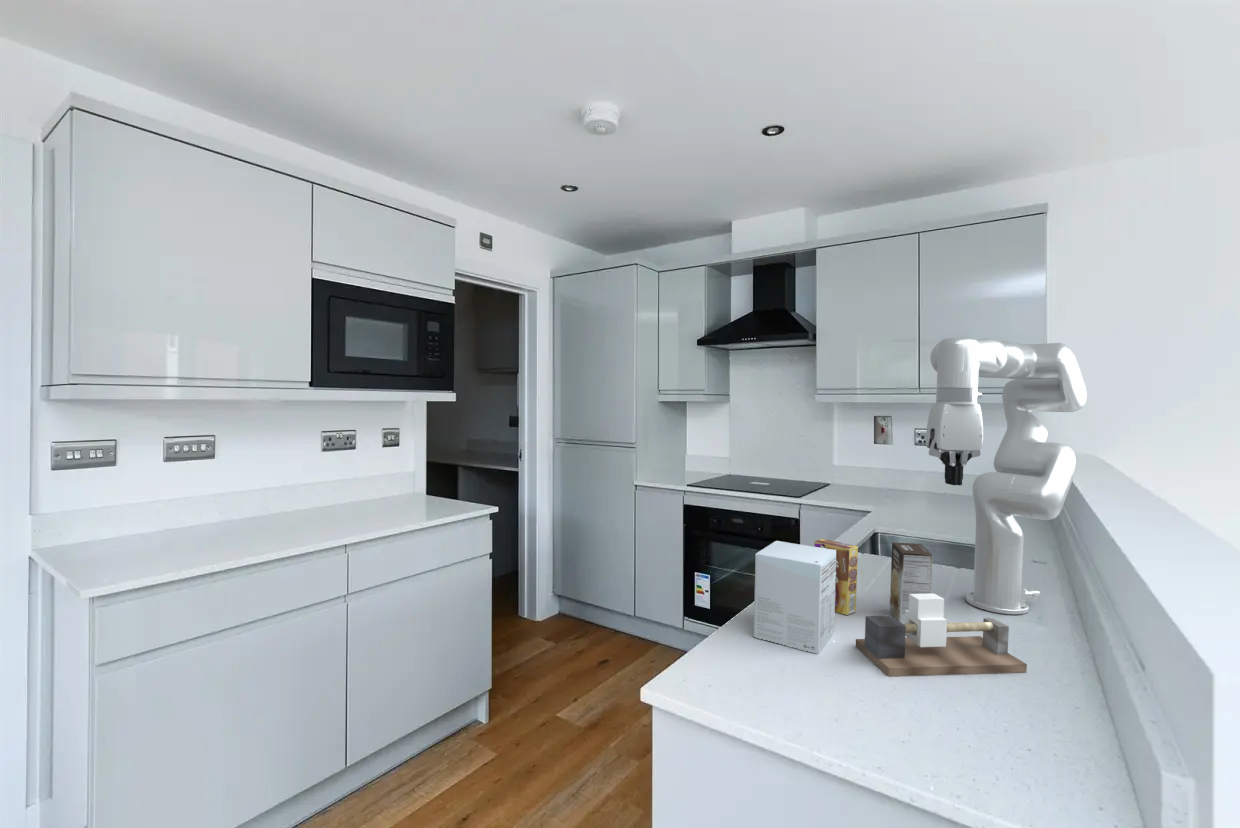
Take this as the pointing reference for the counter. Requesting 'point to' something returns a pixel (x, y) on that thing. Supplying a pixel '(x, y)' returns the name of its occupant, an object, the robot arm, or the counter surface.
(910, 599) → the stepped white block
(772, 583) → the supplement box
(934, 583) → the counter surface
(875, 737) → the counter surface
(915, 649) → the wooden board rod assembly
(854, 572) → the candy box
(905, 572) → the coffee box
